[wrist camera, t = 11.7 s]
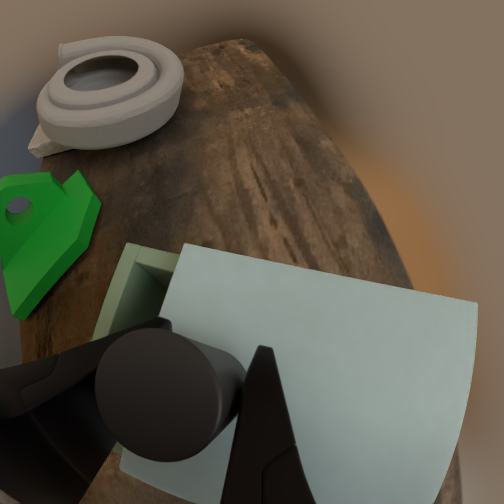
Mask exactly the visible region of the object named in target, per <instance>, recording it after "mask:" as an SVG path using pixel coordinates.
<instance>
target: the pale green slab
mask: <svg viewBox="0 0 504 504" xmlns="http://www.w3.org/2000/svg"><path fill="white" fill-rule="evenodd" d="M159 317H163V318H166V319H169V320H170V321H171V322H172V331H169V330H165V329H159V328H144V329H138V330H135V331H131V332H129V333H127V334H125V335H123V336H122V337H120V338H119V339H117V340H116V341H115V342H114V343H113V344H111V345H110V347H109V348H108V349H107V350H106V352H105V353H104V355H103V356H102V358H101V360H100V362H99V365H98V368H97V371H96V376H95V385H94V389H95V400H96V405H97V408H98V412H99V414H100V417H101V419H102V421H103V423H104V425H105V426H106V428H107V429H108V431H109V432H110V434H111V435H112V436H113V437H114V438H115V439H116V440H117V441H118V442H119V443H120V444H121V445H122V446H123V451H122V456H121V461H120V466H119V469H120V470H121V471H123V472H125V473H127V474H129V475H131V476H133V477H135V478H137V479H139V480H141V481H143V482H145V483H147V484H149V485H151V486H153V487H156V488H158V489H160V490H162V491H165V492H167V493H170V494H172V495H174V496H177V497H180V498H182V499H185V500H188V501H190V502H193V503H196V504H220V500H221V495H222V490H223V486H224V481H225V476H226V471H227V466H228V461H229V456H230V451H231V446H232V441H233V436H234V431H235V426H236V421H237V416H238V411H239V406H240V400H241V395H242V390H243V385H244V379H245V375H246V372H247V370H248V367H249V365H250V363H251V360H252V358H253V356H254V353H255V351H256V349H257V347H258V345H264V346H269V347H272V348H273V350H274V354H275V358H276V362H277V366H278V370H279V375H280V379H281V383H282V387H283V391H284V395H285V399H286V403H287V407H288V411H289V415H290V420H291V424H292V428H293V432H294V436H295V440H296V445H297V447H298V451H299V455H300V459H301V463H302V466H303V470H304V473H305V476H306V479H307V482H308V484H309V487H310V489H311V492H312V495H313V497H314V499H315V501H316V504H433V503H434V501H435V499H436V497H437V494H438V492H439V490H440V487H441V485H442V483H443V480H444V478H445V475H446V473H447V470H448V467H449V464H450V462H451V459H452V456H453V453H454V450H455V447H456V444H457V440H458V437H459V433H460V430H461V426H462V422H463V418H464V414H465V409H466V405H467V400H468V395H469V390H470V385H471V379H472V372H473V365H474V357H475V348H476V336H477V319H478V303H475V302H470V301H465V300H460V299H455V298H450V297H445V296H440V295H434V294H429V293H424V292H419V291H415V290H410V289H405V288H400V287H395V286H390V285H385V284H380V283H375V282H370V281H365V280H360V279H355V278H350V277H345V276H340V275H335V274H330V273H326V272H321V271H316V270H311V269H306V268H301V267H296V266H292V265H287V264H282V263H277V262H272V261H267V260H263V259H258V258H253V257H248V256H243V255H239V254H234V253H229V252H224V251H220V250H215V249H210V248H205V247H201V246H196V245H191V244H186V243H185V244H184V246H183V248H182V251H181V254H180V256H179V259H178V262H177V265H176V267H175V270H174V273H173V276H172V279H171V281H170V284H169V287H168V290H167V293H166V296H165V299H164V302H163V305H162V308H161V311H160V314H159Z"/></svg>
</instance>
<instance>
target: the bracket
mask: <svg viewBox="0 0 504 504" xmlns="http://www.w3.org/2000/svg"><path fill="white" fill-rule="evenodd" d="M16 197H26V198H28V199H29V200H30V204H29V206H28V207H27V209H25V210H24V211H23V212H21V213H11V212H9V211H8V210H7V209H6V207H7V205H8V203H9V202H10V201H11V200H12V199H14V198H16ZM101 204H102V203H101V202H100V200H99V199H98V197H97V196H96V194H95V193H94V191H93V189H92V188H91V186H90V185H89V183H88V181H87V180H86V178H85V177H84V176H83V175H82V174H81V173H80V171H79V170H78V171H76V172H75V173H74V174H73V175H72V176H71V177H70V178H69V179H68V180H67V181H66V182H65V183H64V184H63V185H61V184H60V183H59V182H58V180H57V179H56V178H55V177H54V176H53V175H52V174H51V173H50V172H39V173H28V174H19V175H8V176H5V177H3V178H2V179H1V180H0V256H1V262H2V268H3V274H4V279H5V285H6V290H7V295H8V300H9V304H10V308H11V313H12V316H13V317H16V318H18V319H20V320H23V321H25V319H26V318H27V317H28V315H29V314H30V313H31V312H32V310H33V309H34V308H35V307H36V305H37V304H38V303H39V302H40V300H41V299H42V298H43V297H44V296H45V294H46V293H47V292H48V291H49V290H50V288H51V287H52V286H53V285H54V284H55V283H56V282H57V280H58V279H59V278H60V277H61V276H62V275H63V274H64V273H65V271H66V270H67V269H68V268H69V267H70V266H71V265H72V264H73V263H74V262H75V261H76V259H77V258H78V257H79V256H80V255H81V254H82V253H83V252H84V251H85V250H86V249H87V248H88V245H89V242H90V238H91V235H92V232H93V228H94V225H95V222H96V219H97V216H98V212H99V209H100V207H101Z"/></svg>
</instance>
